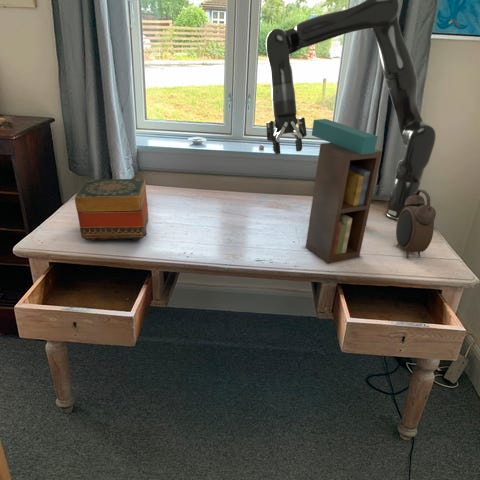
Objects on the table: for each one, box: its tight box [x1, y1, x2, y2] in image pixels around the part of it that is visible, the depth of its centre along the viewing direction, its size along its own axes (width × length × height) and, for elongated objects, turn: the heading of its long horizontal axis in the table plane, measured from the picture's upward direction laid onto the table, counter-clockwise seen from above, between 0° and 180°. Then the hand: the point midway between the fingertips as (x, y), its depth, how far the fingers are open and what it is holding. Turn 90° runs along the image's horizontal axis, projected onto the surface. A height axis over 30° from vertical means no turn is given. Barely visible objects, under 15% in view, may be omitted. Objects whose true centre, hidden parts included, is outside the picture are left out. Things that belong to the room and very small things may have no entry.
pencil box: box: [311, 118, 378, 155], centre depth 134 cm, size 22×5×4 cm, turn 30°
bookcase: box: [305, 142, 383, 265], centre depth 142 cm, size 12×12×32 cm
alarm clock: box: [395, 189, 437, 259], centre depth 148 cm, size 14×7×20 cm, turn 5°
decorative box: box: [74, 178, 149, 242], centre depth 149 cm, size 20×22×16 cm
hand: (288, 152), depth 161 cm, fingers open, 8 cm apart
